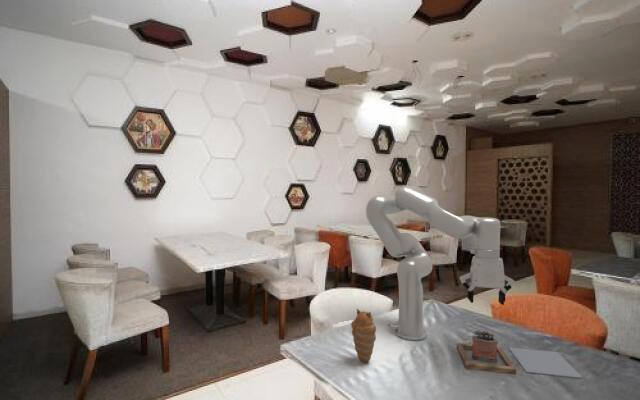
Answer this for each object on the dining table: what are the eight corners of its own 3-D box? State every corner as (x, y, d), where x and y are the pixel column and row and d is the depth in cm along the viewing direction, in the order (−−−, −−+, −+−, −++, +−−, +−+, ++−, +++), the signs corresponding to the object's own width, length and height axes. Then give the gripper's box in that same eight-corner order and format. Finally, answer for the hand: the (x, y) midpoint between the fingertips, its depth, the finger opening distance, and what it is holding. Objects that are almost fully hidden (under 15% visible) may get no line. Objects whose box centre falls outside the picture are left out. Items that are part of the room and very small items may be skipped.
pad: (526, 372, 105) (526, 371, 105) (508, 348, 121) (508, 347, 121) (582, 378, 102) (582, 377, 102) (556, 353, 118) (557, 351, 118)
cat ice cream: (347, 362, 112) (347, 310, 111) (359, 352, 118) (359, 304, 117) (370, 371, 106) (370, 317, 105) (381, 360, 113) (381, 309, 112)
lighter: (496, 358, 114) (497, 331, 113) (498, 363, 110) (498, 335, 110) (471, 355, 116) (471, 327, 116) (472, 359, 113) (472, 331, 113)
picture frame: (466, 368, 108) (466, 364, 108) (457, 346, 122) (457, 342, 122) (516, 374, 104) (516, 369, 104) (500, 350, 119) (500, 346, 119)
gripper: (462, 254, 110) (461, 304, 111) (519, 257, 106) (517, 308, 107) (458, 250, 117) (457, 297, 118) (510, 252, 114) (509, 300, 114)
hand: (485, 302), depth 112 cm, fingers open, 9 cm apart
